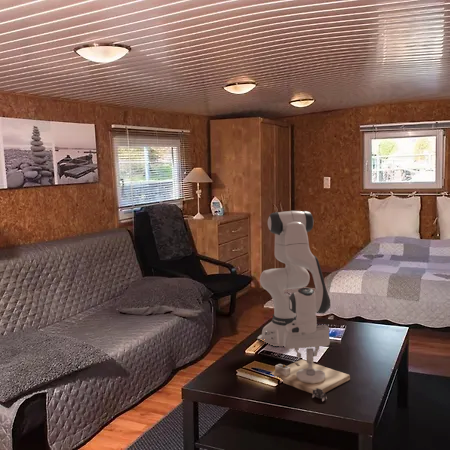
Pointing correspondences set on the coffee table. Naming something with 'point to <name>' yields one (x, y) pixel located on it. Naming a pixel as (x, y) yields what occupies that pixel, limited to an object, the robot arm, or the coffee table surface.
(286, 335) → the robot arm
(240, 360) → the coffee table surface
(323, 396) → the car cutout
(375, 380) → the coffee table surface
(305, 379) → the dial
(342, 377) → the stand board
